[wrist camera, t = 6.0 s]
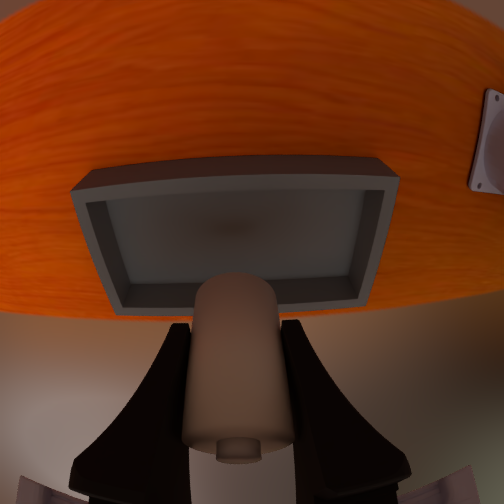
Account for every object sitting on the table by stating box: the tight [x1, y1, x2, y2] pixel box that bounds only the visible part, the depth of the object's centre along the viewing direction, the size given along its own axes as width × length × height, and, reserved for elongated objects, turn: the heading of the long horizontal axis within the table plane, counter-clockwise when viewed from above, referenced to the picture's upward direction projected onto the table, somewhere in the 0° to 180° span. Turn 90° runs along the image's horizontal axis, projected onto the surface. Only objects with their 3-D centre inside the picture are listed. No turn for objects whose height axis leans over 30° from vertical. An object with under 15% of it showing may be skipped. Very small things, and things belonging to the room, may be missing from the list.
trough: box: [70, 155, 400, 316], centre depth 18 cm, size 18×10×3 cm, turn 91°
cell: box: [182, 272, 295, 464], centre depth 10 cm, size 4×4×7 cm
